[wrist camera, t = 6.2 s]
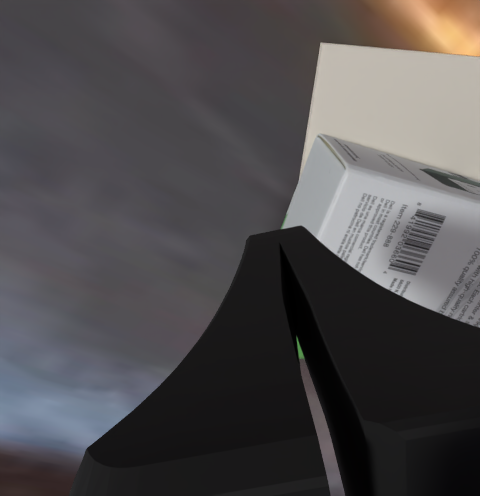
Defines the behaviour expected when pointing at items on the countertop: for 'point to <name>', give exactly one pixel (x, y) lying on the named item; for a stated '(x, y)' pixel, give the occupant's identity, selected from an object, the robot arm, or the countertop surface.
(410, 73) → the topple mat
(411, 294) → the ink box
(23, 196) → the countertop surface
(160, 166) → the countertop surface
